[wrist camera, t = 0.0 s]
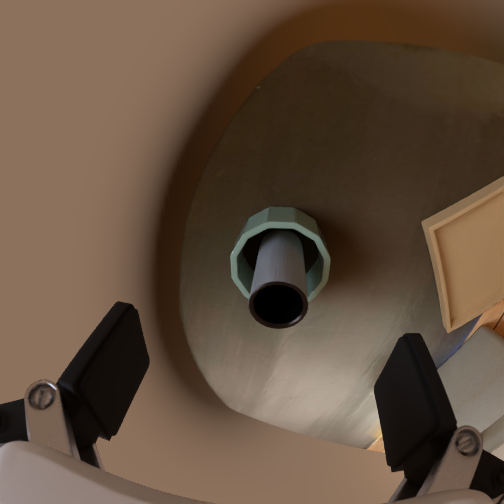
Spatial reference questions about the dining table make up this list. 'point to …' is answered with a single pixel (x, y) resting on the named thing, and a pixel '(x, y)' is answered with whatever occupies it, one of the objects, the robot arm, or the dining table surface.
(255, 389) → the dining table surface
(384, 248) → the dining table surface
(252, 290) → the grey cylinder
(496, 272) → the tray
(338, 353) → the dining table surface
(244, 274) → the sleeve
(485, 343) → the flower pot
